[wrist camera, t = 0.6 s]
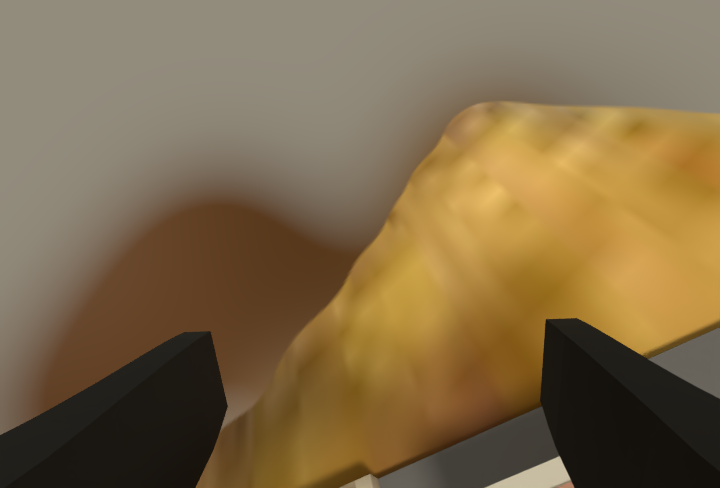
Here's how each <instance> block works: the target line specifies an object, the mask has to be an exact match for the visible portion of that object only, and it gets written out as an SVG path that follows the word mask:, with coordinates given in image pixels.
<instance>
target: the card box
mask: <svg viewBox="0 0 720 488" xmlns="http://www.w3.org/2000/svg"><path fill="white" fill-rule="evenodd" d="M485 488H574V486H573V484H572V482H571V479H570V477H569V475H568V473H567V471H566V469H565V467H564V464H563V462H562V460H561V458H560V456H559V457H557V458H554V459H552V460H550V461H547V462H545V463H542V464H540V465H538V466H535V467H533V468H530V469H528V470H526V471H523V472H521V473H519V474H516V475H514V476H511V477H509V478H507V479H504V480H502V481H499V482H497V483H495V484H492V485H490V486H488V487H485Z"/></svg>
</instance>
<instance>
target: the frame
mask: <svg viewBox="0 0 720 488" xmlns="http://www.w3.org/2000/svg"><path fill="white" fill-rule="evenodd" d="M340 488H380V486H379V481H378V479H377V478H376V477H374V476H373V475H371V474H369V475H366V476H364V477H362V478H360V479H358V480H355V481H353V482H351V483H349V484H346V485H344V486H342V487H340Z"/></svg>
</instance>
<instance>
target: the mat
mask: <svg viewBox="0 0 720 488" xmlns="http://www.w3.org/2000/svg"><path fill="white" fill-rule="evenodd" d="M648 360H650V361H652V362H654V363H655V364H657V365H659V366H661V367H662V368H664V369H666V370H668V371H669V372H671V373H673V374H675V375H676V376H678V377H680V378H682V379H684V380H685V381H687V382H689V383H691V384H693V385H694V386H696V387H698V388H700V389H702V390H704V391H706V392H708V393H710V394H712V395H714V396H715V397H717V398H719V399H720V327H719V328H717V329H715V330H713V331H710V332H708V333H706V334H703V335H701V336H699V337H697V338H694V339H692V340H690V341H688V342H685V343H683V344H681V345H679V346H676V347H674V348H672V349H670V350H667V351H665V352H663V353H661V354H658V355H656V356H654V357H652V358H649V359H648ZM557 457H559V454H558V451H557V449H556V447H555V444H554V441H553V438H552V436H551V433H550V430H549V427H548V424H547V420H546V417H545V414H544V411H543V408H542V406H541V407H539V408H537V409H534V410H532V411H530V412H528V413H525V414H523V415H521V416H519V417H516V418H514V419H512V420H510V421H507V422H505V423H503V424H501V425H498V426H496V427H494V428H492V429H489V430H487V431H485V432H483V433H480V434H478V435H476V436H474V437H471V438H469V439H467V440H465V441H462V442H460V443H458V444H456V445H453V446H451V447H449V448H447V449H444V450H442V451H440V452H438V453H435V454H433V455H431V456H428V457H426V458H424V459H422V460H419V461H417V462H415V463H413V464H410V465H408V466H406V467H404V468H401V469H399V470H397V471H395V472H392V473H390V474H388V475H386V476H383V477H381V478H379V479H378V481H379V486H380V488H485V487H488V486H490V485H492V484H495V483H497V482H499V481H502V480H504V479H507V478H509V477H511V476H514V475H516V474H519V473H521V472H523V471H526V470H528V469H530V468H533V467H535V466H538V465H540V464H542V463H545V462H547V461H550V460H552V459H554V458H557Z"/></svg>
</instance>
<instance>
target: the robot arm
mask: <svg viewBox="0 0 720 488" xmlns="http://www.w3.org/2000/svg"><path fill="white" fill-rule="evenodd" d="M540 401H541V404H542V408H543V411H544V414H545V417H546V420H547V424H548V427H549V430H550V433H551V436H552V438H553V441H554V444H555V447H556V449H557V451H558V454H559V456H560V458H561V460H562V462H563V464H564V467H565V469H566V471H567V473H568V475H569V477H570V479H571V482H572V484H573V486H574V488H720V399H719V398H717V397H715V396H714V395H712V394H710V393H708V392H706V391H704V390H702V389H700V388H698V387H696V386H694V385H693V384H691V383H689V382H687V381H685V380H684V379H682V378H680V377H678V376H676V375H675V374H673V373H671V372H669V371H668V370H666V369H664V368H662V367H661V366H659V365H657V364H655V363H654V362H652V361H650V360H648V359H647V358H645V357H643V356H642V355H640V354H638V353H637V352H635V351H633V350H632V349H630V348H628V347H627V346H625V345H623V344H621V343H620V342H618V341H616V340H615V339H613V338H611V337H610V336H608V335H606V334H605V333H603V332H601V331H600V330H598V329H596V328H594V327H593V326H591V325H589V324H587V323H585V322H583V321H581V320H579V319H577V318H571V319H546V324H545V339H544V353H543V368H542V383H541V398H540ZM227 407H228V406H227V402H226V397H225V393H224V388H223V384H222V380H221V375H220V371H219V366H218V362H217V358H216V353H215V349H214V345H213V340H212V336H211V332H210V331H208V332H184V333H182V334H180V335H178V336H175V337H174V338H172V339H170V340H168V341H166V342H164V343H163V344H161V345H159V346H157V347H155V348H154V349H152V350H151V351H149V352H147V353H146V354H144V355H142V356H140V357H139V358H137V359H135V360H134V361H132V362H130V363H129V364H127V365H125V366H124V367H122V368H120V369H119V370H117V371H115V372H114V373H112V374H110V375H109V376H107V377H105V378H104V379H102V380H100V381H99V382H97V383H95V384H94V385H92V386H90V387H88V388H87V389H85V390H83V391H81V392H80V393H78V394H76V395H74V396H72V397H71V398H69V399H67V400H65V401H64V402H62V403H60V404H58V405H57V406H55V407H53V408H51V409H49V410H48V411H46V412H44V413H42V414H40V415H39V416H37V417H35V418H33V419H31V420H29V421H27V422H26V423H24V424H21V425H20V426H17V427H16V428H14V429H12V430H10V431H8V432H6V433H4V434H2V435H0V488H195V487H196V485H197V483H198V481H199V479H200V477H201V475H202V473H203V471H204V468H205V466H206V464H207V462H208V460H209V458H210V456H211V454H212V451H213V449H214V446H215V444H216V441H217V438H218V435H219V432H220V429H221V426H222V423H223V420H224V417H225V413H226V410H227Z"/></svg>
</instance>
